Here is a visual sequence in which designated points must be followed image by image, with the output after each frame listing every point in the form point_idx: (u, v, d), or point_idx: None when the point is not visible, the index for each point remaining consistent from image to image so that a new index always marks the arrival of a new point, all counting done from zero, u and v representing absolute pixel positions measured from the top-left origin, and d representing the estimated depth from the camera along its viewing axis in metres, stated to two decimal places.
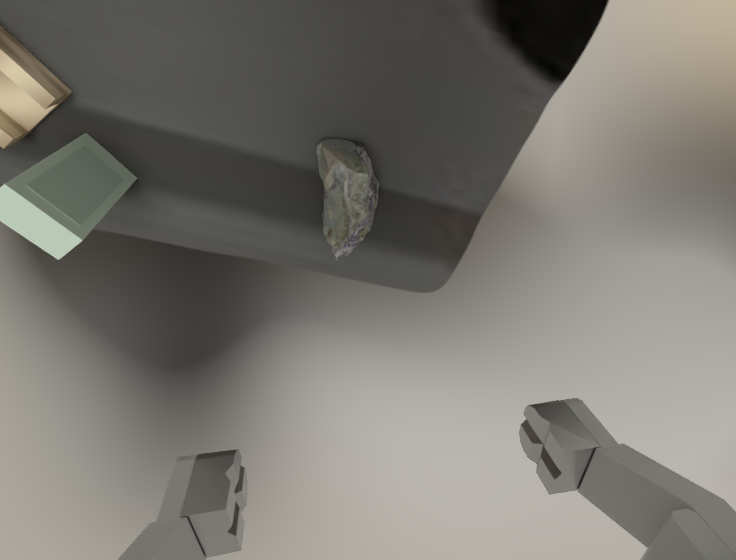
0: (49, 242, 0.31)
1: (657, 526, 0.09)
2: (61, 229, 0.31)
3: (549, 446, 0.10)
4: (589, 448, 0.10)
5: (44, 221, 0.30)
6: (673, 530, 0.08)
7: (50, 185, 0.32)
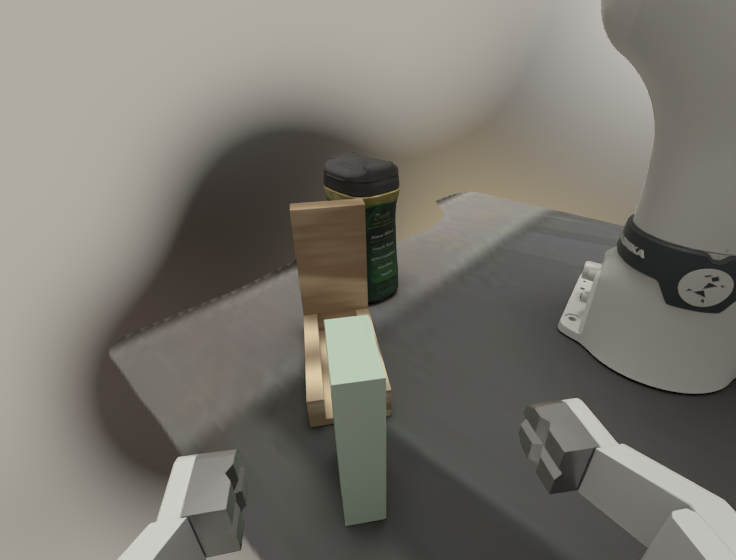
0: (345, 365, 0.22)
1: (657, 526, 0.09)
2: (374, 359, 0.22)
3: (549, 447, 0.10)
4: (589, 448, 0.10)
5: (366, 347, 0.23)
6: (673, 530, 0.08)
7: None
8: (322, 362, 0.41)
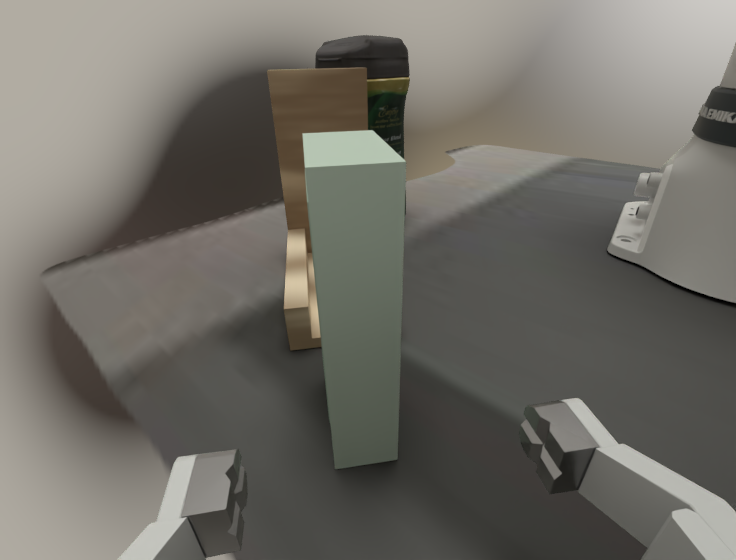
0: (333, 155, 0.12)
1: (657, 526, 0.09)
2: (384, 152, 0.13)
3: (549, 447, 0.10)
4: (589, 448, 0.10)
5: (369, 145, 0.14)
6: (673, 530, 0.08)
7: None
8: (310, 281, 0.32)
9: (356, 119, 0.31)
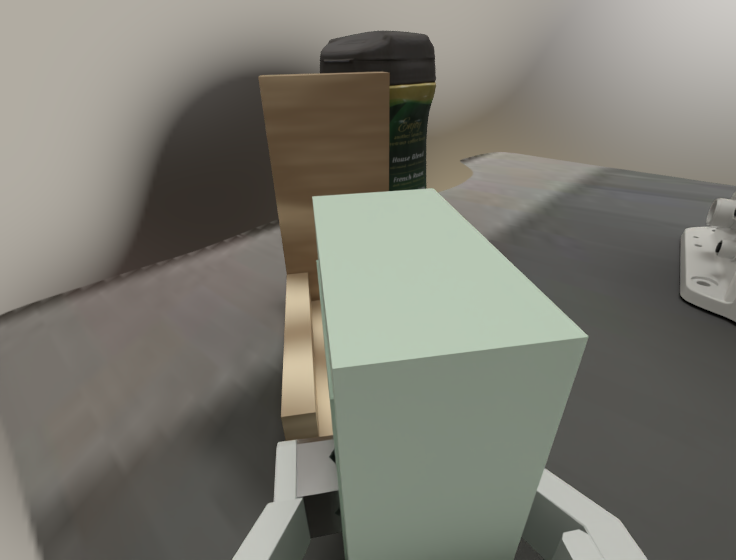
0: (391, 293, 0.05)
1: (559, 545, 0.09)
2: (500, 276, 0.06)
3: None
4: None
5: (454, 246, 0.07)
6: (563, 552, 0.08)
7: None
8: (315, 347, 0.25)
9: (374, 138, 0.24)
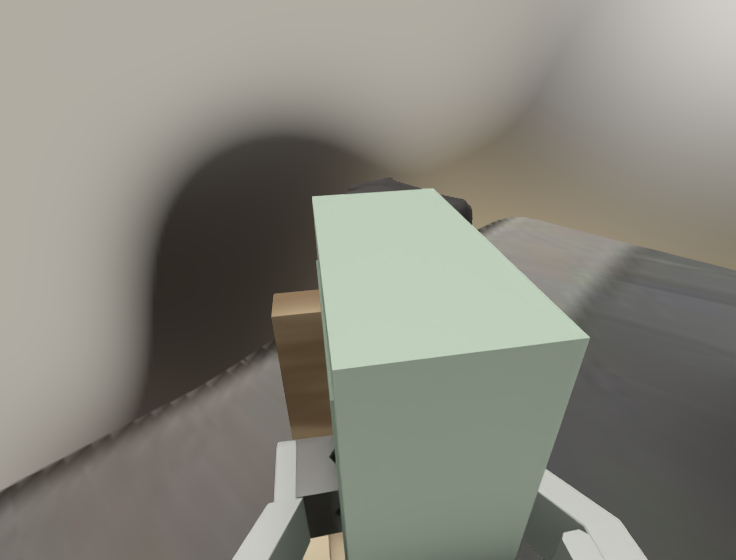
0: (391, 294, 0.05)
1: (559, 546, 0.09)
2: (501, 277, 0.06)
3: None
4: None
5: (454, 246, 0.07)
6: (563, 552, 0.08)
7: None
8: None
9: None
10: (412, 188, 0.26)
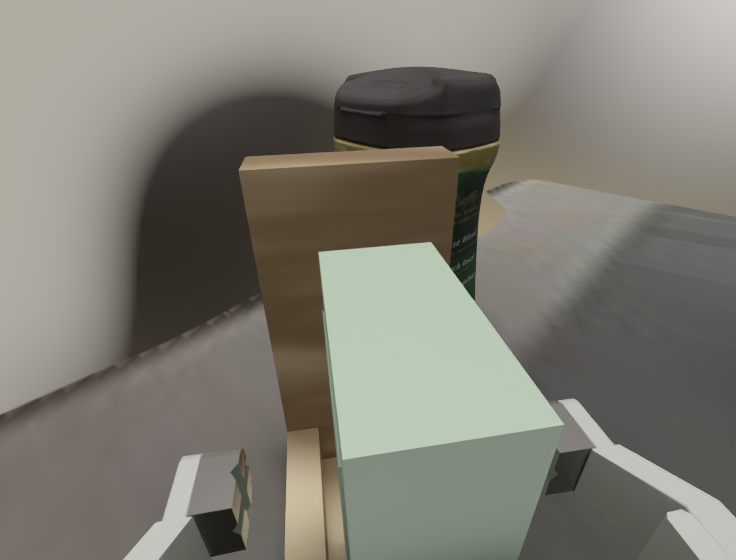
0: (392, 373, 0.06)
1: (652, 526, 0.09)
2: (490, 353, 0.06)
3: None
4: (585, 449, 0.10)
5: (449, 316, 0.07)
6: (668, 531, 0.08)
7: None
8: None
9: None
10: (426, 67, 0.21)
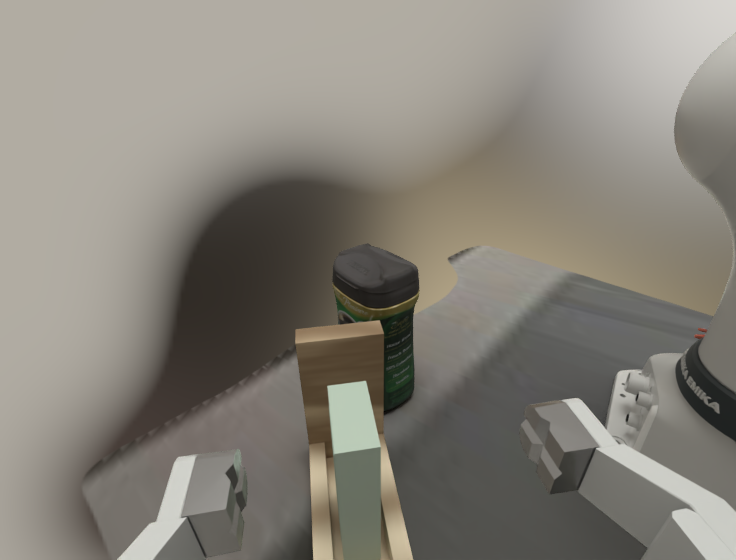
0: (346, 433, 0.26)
1: (657, 526, 0.09)
2: (371, 428, 0.26)
3: (549, 446, 0.10)
4: (589, 448, 0.10)
5: (364, 415, 0.27)
6: (673, 530, 0.08)
7: None
8: (331, 511, 0.35)
9: (373, 367, 0.35)
10: (380, 256, 0.41)
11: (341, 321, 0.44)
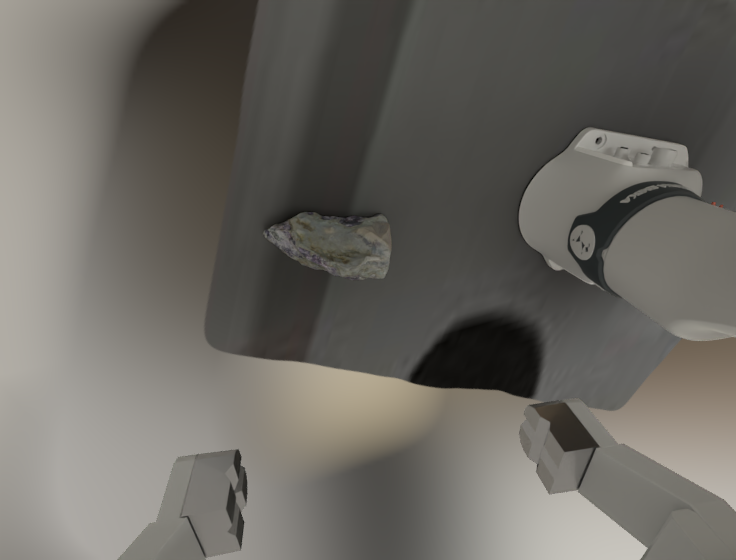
0: None
1: (657, 526, 0.09)
2: None
3: (549, 446, 0.10)
4: (589, 448, 0.10)
5: None
6: (673, 530, 0.08)
7: None
8: None
9: None
10: None
11: None
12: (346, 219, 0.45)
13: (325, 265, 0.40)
